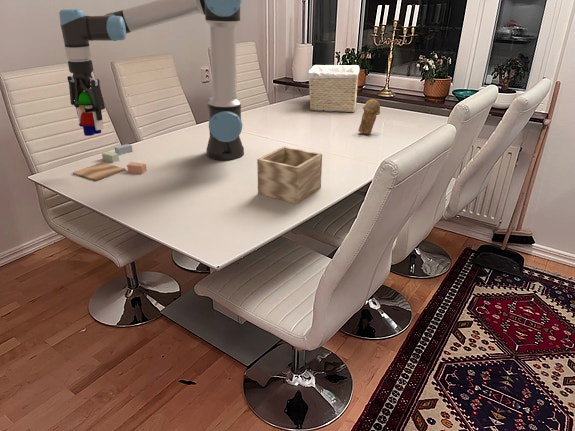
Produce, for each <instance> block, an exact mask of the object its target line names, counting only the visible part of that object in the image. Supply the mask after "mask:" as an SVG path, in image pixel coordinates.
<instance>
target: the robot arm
mask: <svg viewBox="0 0 575 431" xmlns="http://www.w3.org/2000/svg"><path fill="white" fill-rule="evenodd" d="M241 4H242V0H153V1H150V2H146V3H142V4H138V5H135V6H131V7H128V8H124V9H122V10H117V11H114V12H109V13H106V14H104V15H86V14H85V12H84V10H83V9H82V8H81V9H80V8H79V9H77V8H65V9H64V8H63V9H60V11H59V12H58V14H59V15H58V17H59V22H60V25H59V26H60V28H61V34H62V38H63V43H64V44H63V45H64V50H65V56H66V59H67V60H68V62H67V65H68V71H69V73H70V74H72V75H68V76H67V82H68V89H69V98H70V104H71V106H74V108H75V110H76V114H77V118H78V122H79V123H78V125H79V124H80V117H81V114H82V111H81V110H80V108H79V105H77V104H75V102H76V101H78V100H79V96H80V94H81V93H82V92H84V91H85V92H86V93H87V95H88V97H89V98H90V101H91V103H93V104H92V107H93V109H94V110H93V111H92V112H93V117H94V123H95V129H96V130H100V129H101V130H103V129H104V122H103V113H102V110H104V109H106V104H105V101H104V98H103V95H102V94H103V93H102V89H101V85H100V84H101V83H100V79H99V78H97V79H95V78H94V77H93V76H92V75H93V74H92V73H93V72H94V65H93V61H92V59H91V58H92V54H91V48H90V43H89V42H93V41H94V42H95V41H101V42H102V41H107V42H108V41H113V42H117V41H124V40H125V39H126V38H127V34H130V33H133V32H136V31H140V30H143V29H146V28H151V27H154V26H158V25H161V24H165V23H169V22H172V21H176V20H179V19H183V18H187V17H190V16H193V15H197V14H198V15H199V14H200V15H202V16H204V17H205V18H204V19H205V20H204V21H205V22H206V23H207V24H208V25H209V26H210V27H209V28H210V30H209V32H210V58H211V59H210V61H211V88H212V89H211V92H212V97H209V98H207V104H206V105H207V106H206V107H207V114H208V130H209V138H208V142H207V146H206V156H207V158H209V159H212V160H217V161H218V160H219V161H228V160H229V161H230V160H235V159H239V158H241V157H243V156H244V154H245V149H244V146H243V142H242V140H241V137H240V135H241V133H242V130H243V122H242V102H241V101H240V100H239V99H238V97H237V26H238V25H239V24H240V23H241ZM96 106H97V107H96Z"/></svg>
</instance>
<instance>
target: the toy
mask: <svg viewBox="0 0 575 431" xmlns="http://www.w3.org/2000/svg"><path fill="white" fill-rule="evenodd" d="M75 104H77V105H79V108H80V110H81V111H82V114H81V117H80V124H79V123H78V125H79V127H80V128H81V127H82V129H83V135H84V136H85V137H89V136H94V135H97V134H98V135H99V134H102V129H100V130H96V129H95V123H94V117H93V112H92V111H93V110H94V109H93V107H92V104H93V103H91V101H90V98H89V97H88V95H87V93H86V92H85V91H84V92H82V93H81V94H80V96H79V100H78V101H76V102H75ZM96 107H97V106H96Z"/></svg>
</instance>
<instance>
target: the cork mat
mask: <svg viewBox="0 0 575 431" xmlns="http://www.w3.org/2000/svg"><path fill="white" fill-rule="evenodd" d="M126 169H127V168H125V167H121V166H117V165H115V164H114V165H113V164H111V163H110V164H109V163H106V162H99V163H97V164H93V165H90V166H87V167H85V168H82V169H79V170H75V171H74V172H72V174H73V175H75V176H78V177H81V178H83V179H88V180H91V181H94V182H99V181H101V180H104V179H106V178H109V177H112V176H115V175H117V174H120V173H122V172H125V171H127V170H126Z"/></svg>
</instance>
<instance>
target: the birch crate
mask: <svg viewBox="0 0 575 431" xmlns="http://www.w3.org/2000/svg"><path fill="white" fill-rule="evenodd" d="M256 161H257V162H256V163H257V164H256V165H257V166H256V167H257V194H258V195H262V196H266V197H269V198H274V199H277V200H279V201H284V202H287V203H292V204H295V205H296V204H299V203H300V202H302V201H304V200H305V199H306V198H308V197H309V196H310V195H312V194H314V193H315V192H316V191H318V190H320V189H321V187H322V174H323V171H322V170H323V169H322V168H323V167H322V166H323V154H322V153H319V152H314V151H310V150H303V149H299V148H294V147H288V146H282V147H280V148H277V149H276V150H274V151H272V152H269V153H268V154H266V155H265V154H264V156H261V157H260V158H258V159H256Z"/></svg>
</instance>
